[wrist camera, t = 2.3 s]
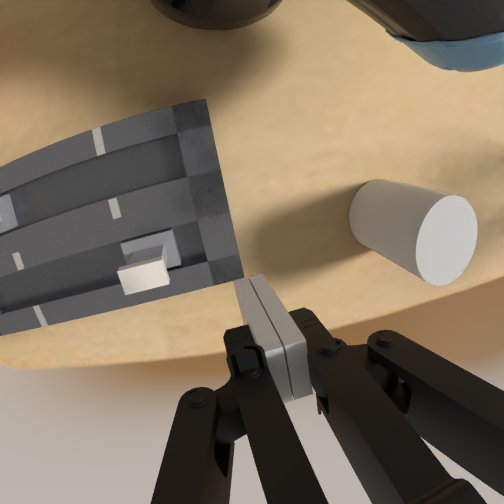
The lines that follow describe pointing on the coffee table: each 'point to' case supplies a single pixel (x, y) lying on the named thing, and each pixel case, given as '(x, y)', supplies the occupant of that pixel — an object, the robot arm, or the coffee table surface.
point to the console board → (113, 216)
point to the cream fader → (148, 260)
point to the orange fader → (7, 214)
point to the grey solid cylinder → (415, 228)
